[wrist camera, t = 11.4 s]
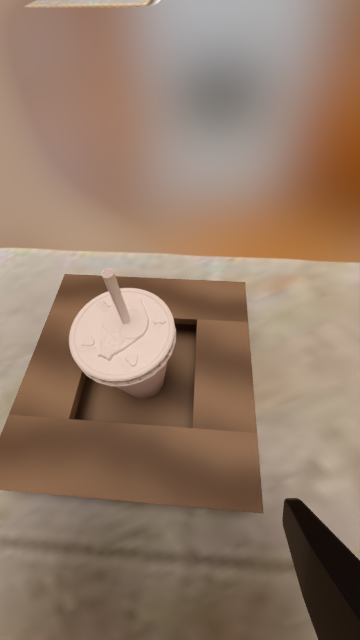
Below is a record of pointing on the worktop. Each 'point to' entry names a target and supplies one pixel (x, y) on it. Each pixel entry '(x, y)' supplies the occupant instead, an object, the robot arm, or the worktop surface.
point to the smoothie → (124, 339)
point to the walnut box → (142, 409)
